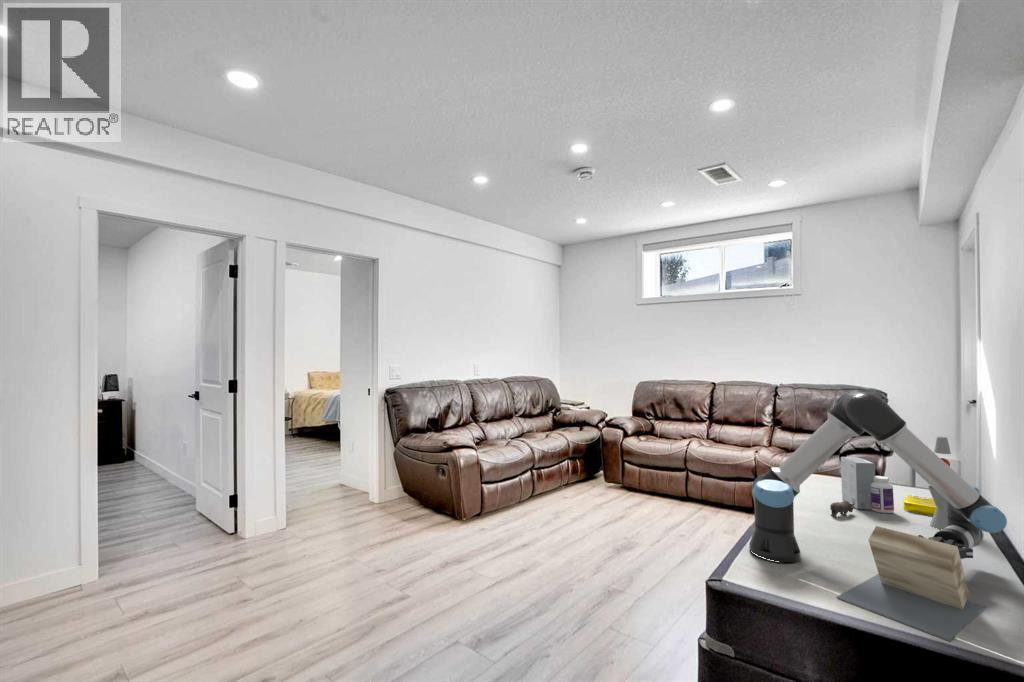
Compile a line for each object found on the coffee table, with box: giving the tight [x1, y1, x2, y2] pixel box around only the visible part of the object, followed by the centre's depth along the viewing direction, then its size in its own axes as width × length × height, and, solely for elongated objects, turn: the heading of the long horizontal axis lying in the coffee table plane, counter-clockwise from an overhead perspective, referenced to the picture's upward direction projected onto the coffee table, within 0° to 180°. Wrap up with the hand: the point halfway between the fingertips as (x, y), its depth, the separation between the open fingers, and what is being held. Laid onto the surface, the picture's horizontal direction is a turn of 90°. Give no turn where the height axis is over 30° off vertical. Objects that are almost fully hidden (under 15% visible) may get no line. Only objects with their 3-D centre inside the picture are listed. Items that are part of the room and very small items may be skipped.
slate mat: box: [836, 573, 989, 642], centre depth 131 cm, size 28×24×1 cm
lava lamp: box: [927, 436, 952, 530], centre depth 188 cm, size 9×9×35 cm
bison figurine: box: [830, 500, 855, 519], centre depth 202 cm, size 4×14×6 cm, turn 111°
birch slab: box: [868, 525, 970, 610], centre depth 134 cm, size 6×18×16 cm, turn 33°
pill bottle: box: [870, 475, 895, 514], centre depth 208 cm, size 8×8×14 cm
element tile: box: [903, 494, 937, 517], centre depth 208 cm, size 15×15×5 cm
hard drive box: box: [840, 456, 876, 511], centre depth 216 cm, size 16×8×20 cm, turn 167°
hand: (924, 558), depth 135 cm, fingers closed
